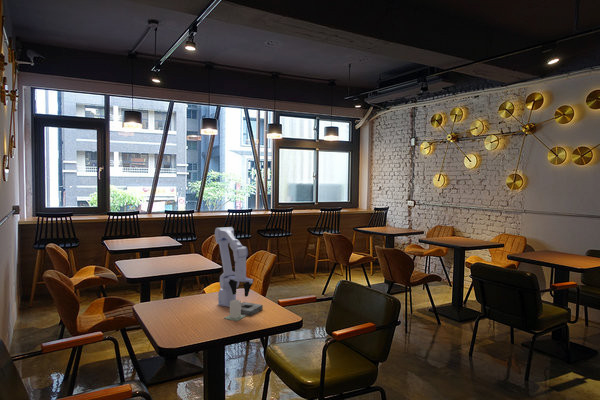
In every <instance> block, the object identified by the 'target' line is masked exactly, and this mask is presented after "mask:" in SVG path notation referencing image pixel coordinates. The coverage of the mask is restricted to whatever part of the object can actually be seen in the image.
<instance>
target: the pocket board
mask: <svg viewBox="0 0 600 400" xmlns="http://www.w3.org/2000/svg"><path fill="white" fill-rule="evenodd" d="M263 307H264V306H263V304H260V303H253V302H248V301H247V302H246V301H243V302H241V315H245V316H250V317H252V316H254V315H256V314H257V313H259V312H261V311H262V310H263Z"/></svg>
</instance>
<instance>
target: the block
mask: <svg viewBox="0 0 600 400" xmlns="http://www.w3.org/2000/svg"><path fill="white" fill-rule="evenodd" d="M241 303H242V300H239V299H236V300H232V301H230V307H229V315H230V317H232V318H238V317H240V316H241V315H242V314H241Z"/></svg>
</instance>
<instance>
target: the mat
mask: <svg viewBox="0 0 600 400" xmlns="http://www.w3.org/2000/svg"><path fill="white" fill-rule="evenodd" d="M245 317H247V315H242V314H241V316H240V317H238V318H232V317H230V314H229V315H227V316H225V317H223V320H228V321H229V320H230V321H235V322H239V321H240V320H242V319H244V318H245Z"/></svg>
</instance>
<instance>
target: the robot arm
mask: <svg viewBox="0 0 600 400" xmlns="http://www.w3.org/2000/svg"><path fill="white" fill-rule="evenodd" d="M214 239H215V243H216V244H218V245H219V252H220V259H221V264H222V270H223V272H222V274H220V275H219V287H220V288H219V291H218V295H217V296H218V299H217V306H222V307H228V308H230V301H232V300H237V289H238V287H240V286H239V285H240V283H243V284H242V286H243V290H244V297H246V298H247V297H248V296H249V294H250V289H251V287H252V286H253V284H254V279H253V278H249V277H247V257H248V255H249V250H248V247H247V246H244V245H243V244H242V242H240V240H239V239H237V238H236V237H235V230H234V227H233V226H227V227H215V230H214ZM229 247H230V249H231V250H232V253H233V254H232V256H233V260H234V271H233V268H232V260H231V255H230V250H229Z"/></svg>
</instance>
